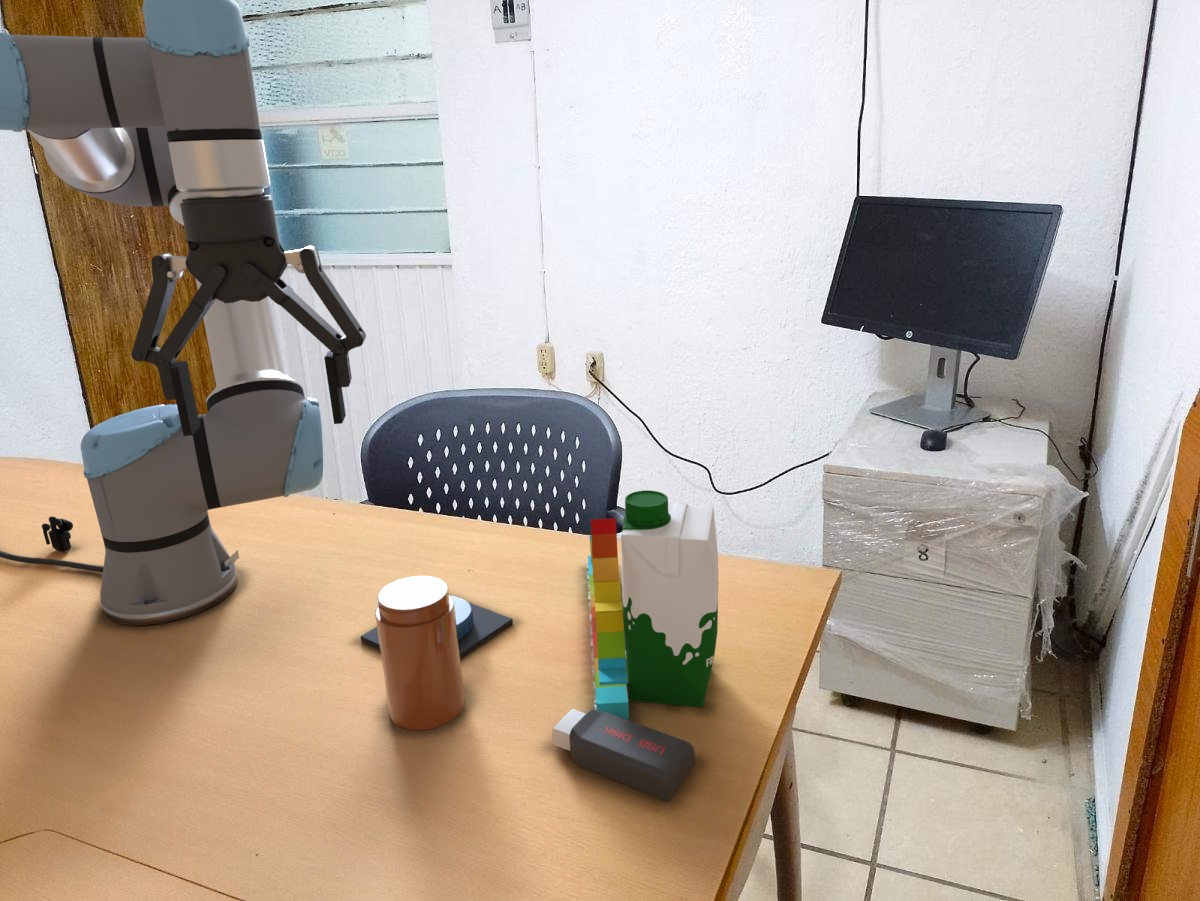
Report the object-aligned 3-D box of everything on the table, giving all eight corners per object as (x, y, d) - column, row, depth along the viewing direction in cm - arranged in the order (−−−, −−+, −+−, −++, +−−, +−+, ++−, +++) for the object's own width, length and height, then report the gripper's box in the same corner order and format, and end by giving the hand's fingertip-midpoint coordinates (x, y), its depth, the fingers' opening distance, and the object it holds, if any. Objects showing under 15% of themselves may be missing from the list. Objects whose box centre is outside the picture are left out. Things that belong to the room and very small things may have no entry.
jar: (373, 712, 80) (356, 598, 76) (429, 676, 85) (415, 566, 81) (425, 740, 76) (409, 620, 72) (479, 699, 81) (468, 586, 77)
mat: (360, 640, 92) (360, 636, 92) (439, 595, 101) (439, 590, 101) (436, 675, 86) (435, 670, 85) (513, 623, 95) (512, 618, 94)
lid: (487, 622, 94) (486, 607, 93) (435, 655, 88) (433, 639, 87) (440, 602, 98) (438, 588, 98) (387, 632, 93) (385, 617, 92)
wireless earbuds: (44, 547, 118) (35, 515, 117) (62, 540, 120) (53, 508, 119) (70, 557, 115) (61, 524, 113) (88, 550, 117) (79, 518, 115)
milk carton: (633, 655, 88) (628, 479, 81) (719, 662, 86) (721, 483, 79) (619, 706, 80) (612, 516, 73) (713, 715, 78) (716, 521, 71)
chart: (586, 569, 106) (581, 459, 101) (611, 568, 106) (607, 458, 101) (594, 721, 78) (588, 579, 73) (628, 719, 78) (625, 577, 73)
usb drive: (667, 802, 68) (667, 774, 67) (547, 753, 74) (545, 727, 73) (695, 763, 72) (695, 737, 71) (579, 720, 78) (578, 695, 77)
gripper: (376, 186, 77) (402, 404, 85) (90, 198, 74) (142, 424, 81) (367, 189, 70) (397, 426, 78) (51, 202, 67) (112, 449, 74)
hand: (267, 425), depth 79 cm, fingers open, 13 cm apart
